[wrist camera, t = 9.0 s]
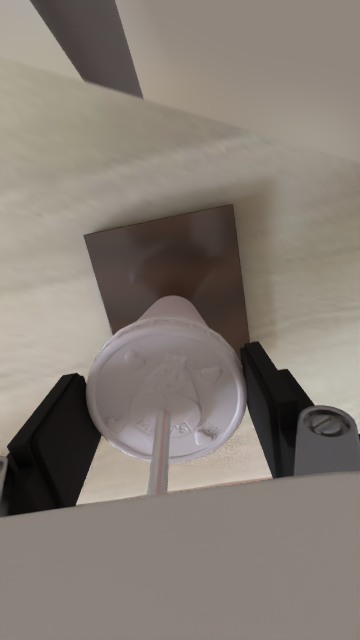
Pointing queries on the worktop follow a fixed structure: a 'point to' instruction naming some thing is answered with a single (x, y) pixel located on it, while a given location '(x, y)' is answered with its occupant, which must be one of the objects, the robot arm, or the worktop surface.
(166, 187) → the worktop surface
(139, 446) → the smoothie
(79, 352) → the worktop surface
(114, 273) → the walnut board
